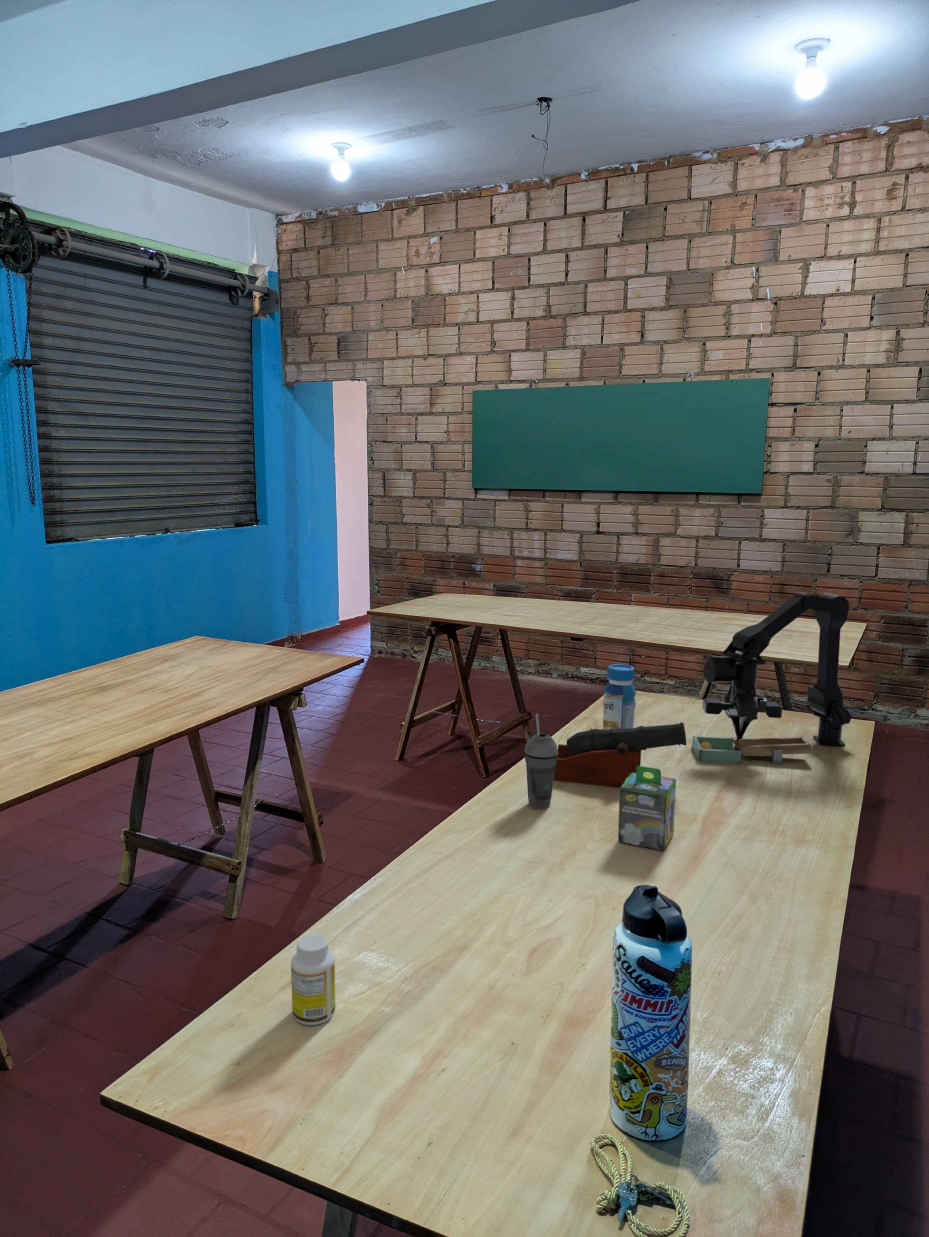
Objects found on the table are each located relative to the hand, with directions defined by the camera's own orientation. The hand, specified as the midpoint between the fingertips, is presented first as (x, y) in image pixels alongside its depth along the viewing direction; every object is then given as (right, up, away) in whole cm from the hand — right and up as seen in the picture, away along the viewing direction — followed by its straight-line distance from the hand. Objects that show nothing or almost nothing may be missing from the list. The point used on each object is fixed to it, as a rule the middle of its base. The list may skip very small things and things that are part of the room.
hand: (738, 740), depth 218 cm
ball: (-10, -1, -5) cm, 11 cm away
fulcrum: (+6, -4, -7) cm, 10 cm away
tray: (-8, -3, -5) cm, 10 cm away
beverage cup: (-55, -8, -38) cm, 67 cm away
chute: (+7, -1, -4) cm, 8 cm away
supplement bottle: (-90, -20, -108) cm, 142 cm away
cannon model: (-35, -6, -23) cm, 42 cm away
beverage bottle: (-31, -1, +4) cm, 31 cm away
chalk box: (-36, -12, -53) cm, 65 cm away
